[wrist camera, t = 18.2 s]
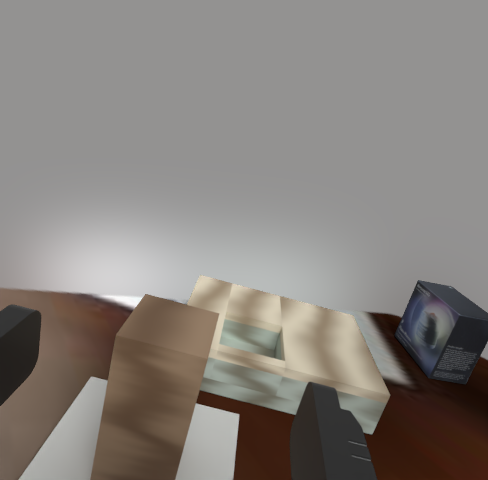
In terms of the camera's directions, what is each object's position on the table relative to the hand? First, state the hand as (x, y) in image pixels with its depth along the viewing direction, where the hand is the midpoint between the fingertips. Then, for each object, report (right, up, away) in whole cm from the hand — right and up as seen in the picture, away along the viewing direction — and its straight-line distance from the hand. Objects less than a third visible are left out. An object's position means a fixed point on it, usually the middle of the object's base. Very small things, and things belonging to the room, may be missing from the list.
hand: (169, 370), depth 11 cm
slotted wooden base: (+5, -11, +34) cm, 36 cm away
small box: (+30, -14, +45) cm, 56 cm away
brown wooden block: (-5, -13, +16) cm, 21 cm away
